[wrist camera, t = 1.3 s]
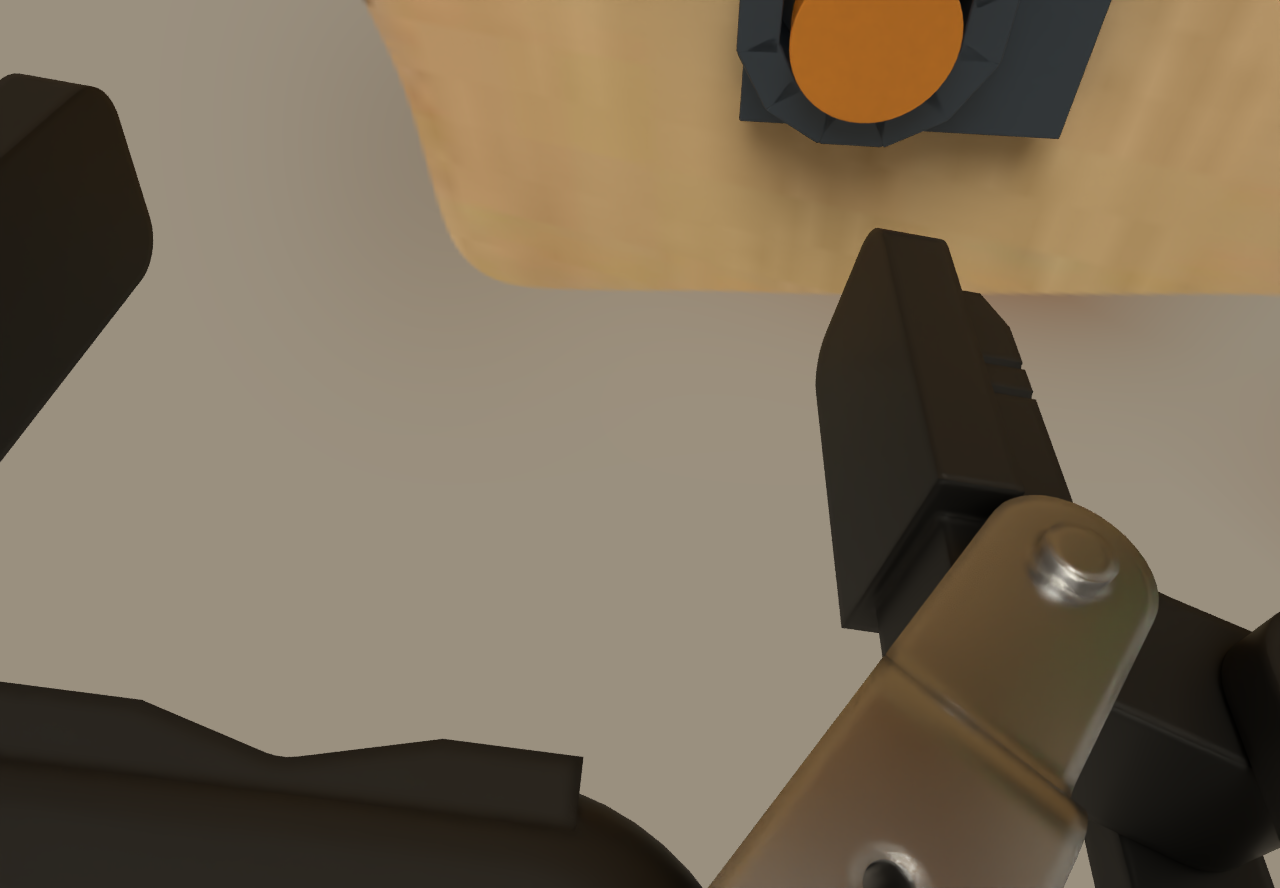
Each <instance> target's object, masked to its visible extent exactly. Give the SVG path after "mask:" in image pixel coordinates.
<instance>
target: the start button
mask: <svg viewBox="0 0 1280 888" xmlns="http://www.w3.org/2000/svg"><path fill="white" fill-rule="evenodd" d="M963 27H964V24H963V13H962V9H961V4H960V0H795V1H794V4H793V10H792V17H791V29H790V42H789V56H790V64H791V68H792V72H793V75H794V78H795V80H796V82H797V84H798V86H799V88H800V90H801V91H802V92H803V94H804V95H805V96H806V98H807V99H808V100H809V101H810V102H811V103H812V104H813V105H814V106H816V107H817V108H818V109H820V110H821V111H822V112H824V113H826V114H828V115H830V116H832V117H834V118H837V119H839V120H843V121H847V122H853V123H876V122H882V121H886V120H891V119H894V118H896V117H899V116H902V115H904V114H906V113H908V112H910V111H912V110H913V109H915V108H916V107H918V106H920V105H921V104H922V103H924V102H925V101H926V100H927V99H929V98H930V97H931V96H932V95H933V94H934V93H935V92H936V91H937V90H938V89H939V88H940V86H941V85H942V84H943V83H944V81H945V80H946V79H947V77H948V75H949V74H950V72H951V70H952V69H953V67H954V64H955V62H956V60H957V58H958V55H959V52H960V49H961V44H962V39H963Z"/></svg>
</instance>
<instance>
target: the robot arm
mask: <svg viewBox="0 0 1280 888" xmlns="http://www.w3.org/2000/svg"><path fill="white" fill-rule="evenodd" d="M152 249H153V231H152V224H151V220H150V216H149V213H148V210H147V207H146V204H145V201H144V197H143V194H142V191H141V187H140V184H139V181H138V178H137V175H136V171H135V168H134V165H133V162H132V158H131V155H130V152H129V149H128V145H127V142H126V139H125V136H124V132H123V129H122V126H121V123H120V120H119V117H118V114H117V111H116V109H115V107H114V105H113V103H112V101H111V100H110V99H109V97H108V96H107V95H106V94H105V93H104V92H103V91H102V90H100V89H98V88H95V87H92V86H86V85H81V84H75V83H69V82H64V81H58V80H52V79H47V78H41V77H36V76H30V75H24V74H11V75H7V76H6V77H4V78H2V79H1V80H0V461H1V460H2V459H3V458H4V456H5V455H6V454H7V453H8V451H9V450H10V449H11V448H12V446H13V445H14V444H15V442H16V441H17V440H18V439H19V437H20V436H21V434H22V433H23V432H24V431H25V430H26V428H27V427H28V426H29V424H30V423H31V422H32V420H33V419H34V418H35V417H36V415H37V414H38V413H39V411H40V410H41V409H42V408H43V406H44V405H45V404H46V402H47V401H48V400H49V399H50V397H51V396H52V395H53V393H54V392H55V391H56V390H57V388H58V387H59V386H60V384H61V383H62V382H63V381H64V379H65V378H66V377H67V375H68V374H69V373H70V371H71V370H72V369H73V367H74V366H75V365H76V363H77V362H78V361H79V360H80V358H81V357H82V356H83V355H84V353H85V352H86V351H87V350H88V348H89V347H90V346H91V344H92V343H93V342H94V341H95V339H96V338H97V337H98V335H99V334H100V333H101V332H102V330H103V329H104V328H105V326H106V325H107V324H108V322H109V321H110V320H111V318H112V317H113V316H114V315H115V314H116V312H117V311H118V310H119V308H120V307H121V306H122V304H123V303H124V302H125V301H126V299H127V298H128V297H129V295H130V294H131V292H133V290H134V289H135V288H136V286H137V285H138V284H139V282H140V281H141V280H142V278H143V277H144V275H145V273H146V271H147V269H148V266H149V264H150V260H151V255H152ZM1021 365H1022V360H1021V357H1020V354H1019V352H1018V349H1017V346H1016V343H1015V341H1014V338H1013V335H1012V332H1011V330H1010V327H1009V326H1008V325H1007V324H1006V323H1005V321H1004V320H1003V319H1002V318H1001V317H1000V316H999V315H998V314H997V312H996V311H995V310H994V309H993V308H992V307H991V305H990V304H989V303H988V302H987V301H986V300H985V299H984V298H983V296H982V295H981V294H980V293H974V292H968V291H962V289H961V286H960V283H959V279H958V276H957V273H956V270H955V267H954V264H953V260H952V257H951V254H950V251H949V248H948V245H947V243H946V242H945V241H944V240H942V239H937V238H931V237H925V236H920V235H914V234H909V233H903V232H897V231H892V230H886V229H880V228H875V229H873V230H872V231H871V232H870V233H869V235H868V236H867V237H866V239H865V241H864V243H863V245H862V247H861V250H860V252H859V254H858V257H857V259H856V262H855V264H854V266H853V269H852V271H851V274H850V276H849V278H848V281H847V283H846V286H845V288H844V290H843V293H842V295H841V298H840V300H839V303H838V305H837V307H836V310H835V313H834V315H833V317H832V319H831V322H830V324H829V327H828V329H827V331H826V334H825V337H824V339H823V343H822V346H821V350H820V353H819V359H818V364H817V371H816V396H817V406H818V415H819V423H820V433H821V442H822V452H823V460H824V470H825V479H826V488H827V497H828V507H829V515H830V525H831V534H832V543H833V552H834V561H835V571H836V580H837V589H838V597H839V607H840V616H841V626H842V628H847V629H854V630H861V631H868V632H875V633H879V635H880V643H881V649H882V657H883V658H882V659H881V660H880V662H879V663H878V664H877V666H876V667H875V668H874V670H873V671H872V672H871V674H870V675H869V677H868V678H867V679H866V680H865V682H864V683H863V684H862V685H861V687H860V688H859V689H858V691H857V692H856V693H855V695H854V696H853V697H852V699H851V700H850V702H849V703H848V704H847V705H846V707H845V708H844V709H843V711H842V712H841V713H840V714H839V716H838V717H837V718H836V720H835V721H834V722H833V724H832V725H831V726H830V728H829V729H828V730H827V732H826V733H825V734H824V736H823V737H822V738H821V740H820V741H819V742H818V744H817V745H816V746H815V747H814V749H813V750H812V751H811V753H810V754H809V755H808V757H807V758H806V759H805V761H804V762H803V763H802V765H801V766H800V767H799V769H798V770H797V771H796V773H795V774H794V775H793V776H792V778H791V779H790V781H789V782H788V783H787V784H786V786H785V787H784V788H783V790H782V791H781V792H780V794H779V795H778V796H777V798H776V799H775V800H774V802H773V803H772V804H771V806H770V807H769V808H768V809H767V811H766V812H765V813H764V815H763V816H762V817H761V819H760V820H759V821H758V823H757V824H756V825H755V827H754V828H753V829H752V831H751V832H750V833H749V835H748V836H747V837H746V839H745V840H744V841H743V842H742V844H741V845H740V846H739V848H738V849H737V850H736V852H735V853H734V854H733V856H732V857H731V858H730V859H729V861H728V862H727V863H726V865H725V866H724V867H723V869H722V870H721V871H720V873H719V874H718V875H717V877H716V878H715V879H714V881H713V882H712V883H711V885H710V886H709V887H708V888H1064V885H1065V883H1066V881H1067V879H1068V876H1069V874H1070V872H1071V870H1072V868H1073V865H1074V863H1075V861H1076V859H1077V857H1078V854H1079V851H1080V849H1081V847H1082V844H1083V841H1084V839H1085V843H1086V848H1087V853H1088V857H1089V862H1090V866H1091V871H1092V875H1093V879H1094V884H1095V888H1274V885H1273V882H1272V879H1271V877H1270V874H1269V871H1268V868H1267V865H1266V863H1265V860H1264V857H1263V855H1265V854H1267V853H1269V852H1271V851H1274V850H1276V849H1278V848H1280V612H1279V613H1277V614H1276V615H1274V616H1273V617H1272V618H1270V619H1269V620H1268V621H1266V622H1265V623H1263V624H1262V625H1261V626H1259V627H1258V628H1257V629H1255V630H1254V631H1253V632H1251V631H1249V630H1247V629H1244V628H1242V627H1239V626H1237V625H1235V624H1232V623H1230V622H1228V621H1225V620H1223V619H1220V618H1218V617H1216V616H1213V615H1211V614H1208V613H1206V612H1203V611H1201V610H1199V609H1197V608H1194V607H1191V606H1189V605H1187V604H1185V603H1182V602H1180V601H1178V600H1175V599H1173V598H1171V597H1168V596H1166V595H1164V594H1162V593H1160V592H1158V590H1157V585H1156V582H1155V579H1154V576H1153V574H1152V572H1151V570H1150V568H1149V566H1148V564H1147V562H1146V561H1145V559H1144V558H1143V556H1142V555H1141V554H1140V553H1139V551H1138V550H1137V549H1136V547H1135V546H1134V545H1133V544H1132V543H1131V542H1130V541H1129V540H1128V538H1127V537H1126V536H1124V535H1123V534H1122V533H1121V532H1120V531H1119V530H1118V529H1117V528H1115V527H1114V526H1113V525H1112V524H1110V523H1109V522H1107V521H1106V520H1105V519H1103V518H1102V517H1100V516H1099V515H1097V514H1095V513H1093V512H1092V511H1090V510H1088V509H1086V508H1084V507H1082V506H1079V505H1077V504H1075V503H1073V502H1072V499H1071V496H1070V493H1069V490H1068V487H1067V485H1066V482H1065V479H1064V476H1063V474H1062V471H1061V468H1060V465H1059V463H1058V460H1057V457H1056V455H1055V452H1054V449H1053V446H1052V443H1051V440H1050V438H1049V435H1048V432H1047V429H1046V427H1045V424H1044V421H1043V418H1042V415H1041V413H1040V410H1039V407H1038V405H1037V402H1036V400H1035V399H1032V398H1031V397H1032V393H1033V390H1032V388H1031V385H1030V382H1029V379H1028V377H1027V374H1026V371H1025V370H1022V369H1021ZM582 764H583V757H579V756H571V755H563V754H555V753H548V752H540V751H532V750H525V749H517V748H509V747H501V746H493V745H486V744H478V743H471V742H463V741H454V740H447V739H438V740H430V741H422V742H414V743H406V744H397V745H390V746H382V747H373V748H365V749H357V750H348V751H340V752H332V753H324V754H316V755H307V756H299V757H282V756H275V755H272V754H268V753H265V752H263V751H261V750H258V749H256V748H253V747H251V746H249V745H246V744H244V743H242V742H239V741H237V740H235V739H232V738H230V737H228V736H225V735H223V734H220V733H218V732H216V731H213V730H211V729H209V728H206V727H204V726H202V725H199V724H197V723H195V722H192V721H190V720H188V719H185V718H183V717H181V716H178V715H176V714H174V713H171V712H169V711H166V710H164V709H162V708H159V707H157V706H155V705H152V704H150V703H148V702H145V701H143V700H138V699H130V698H122V697H114V696H107V695H99V694H92V693H84V692H76V691H68V690H61V689H52V688H45V687H37V686H30V685H22V684H14V683H7V682H0V888H702V887H701V885H700V884H699V883H698V881H696V879H695V878H694V876H693V875H692V874H691V873H690V871H689V870H688V869H687V868H686V867H685V866H684V865H683V864H682V863H681V862H680V861H679V860H678V859H677V858H676V857H675V856H674V855H673V854H672V853H671V852H670V851H669V850H668V849H667V848H666V847H665V846H664V845H663V844H661V843H660V842H659V841H658V840H656V839H655V838H654V837H653V836H651V835H650V834H649V833H647V832H646V831H645V830H644V829H642V828H641V827H640V826H639V825H637V824H636V823H634V822H633V821H631V820H629V819H627V818H626V817H624V816H622V815H621V814H619V813H617V812H616V811H614V810H613V809H611V808H609V807H608V806H606V805H604V804H602V803H599V802H597V801H595V800H593V799H590V798H588V797H586V796H584V795H581V794H579V791H580V782H581V773H582Z"/></svg>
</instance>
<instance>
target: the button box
mask: <svg viewBox="0 0 1280 888" xmlns="http://www.w3.org/2000/svg"><path fill="white" fill-rule="evenodd" d="M794 1H795V0H740V4H739V19H738V35H737V52H738V56H739V58H740V60H741V62H742V64H743V74H742V88H741V102H740V116H739V119H740V121H753V122H770V123H786V124H788V125H790V126H791V127H793V128H794V129H796V130H797V131H799V132H801V133H802V134H804V135H805V136H807V137H808V138H810V139H812V140H813V141H815V142H816V143H818V142H819V143H821V144H836V145H853V146H870V147H882V146H883V147H886V146H889V145H891V144H894V143H896V142H898V141H901V140H903V139H906V138H908V137H910V136H913V135H915V134H918V133H920V132H922V131H928V132H945V133H963V134H980V135H998V136H1015V137H1033V138H1050V139H1059V137H1060V135H1061V132H1062V129H1063V127H1064V124H1065V122H1066V119H1067V116H1068V114H1069V111H1070V108H1071V106H1072V103H1073V100H1074V98H1075V95H1076V92H1077V90H1078V87H1079V85H1080V82H1081V79H1082V77H1083V74H1084V71H1085V69H1086V66H1087V63H1088V61H1089V58H1090V55H1091V53H1092V50H1093V48H1094V45H1095V42H1096V40H1097V37H1098V34H1099V32H1100V29H1101V26H1102V24H1103V21H1104V18H1105V16H1106V13H1107V11H1108V8H1109V5H1110V3H1111V0H960V4H961V9H962V13H963V24H964V27H963V39H962V44H961V49H960V52H959V55H958V58H957V60H956V62H955V64H954V67H953V69H952V70H951V72H950V74H949V75H948V77H947V79H946V80H945V81H944V83H943V84H942V85H941V86H940V88H939V89H938V90H937V91H936V92H935V93H934V94H933V95H932V96H931V97H930V98H929V99H927V100H926V101H925V102H924V103H922V104H921V105H920V106H918V107H916V108H915V109H913V110H912V111H910V112H908V113H906V114H904V115H902V116H899V117H896V118H894V119H891V120H886V121H882V122H876V123H853V122H847V121H843V120H839V119H837V118H834V117H832V116H830V115H828V114H826V113H824V112H822V111H821V110H820V109H818V108H817V107H816V106H814V105H813V104H812V103H811V102H810V101H809V100H808V99H807V98H806V96H805V95H804V94H803V92H802V91H801V90H800V88H799V86H798V84H797V82H796V80H795V78H794V75H793V72H792V68H791V64H790V56H789V42H790V29H791V17H792V10H793V4H794Z"/></svg>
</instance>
